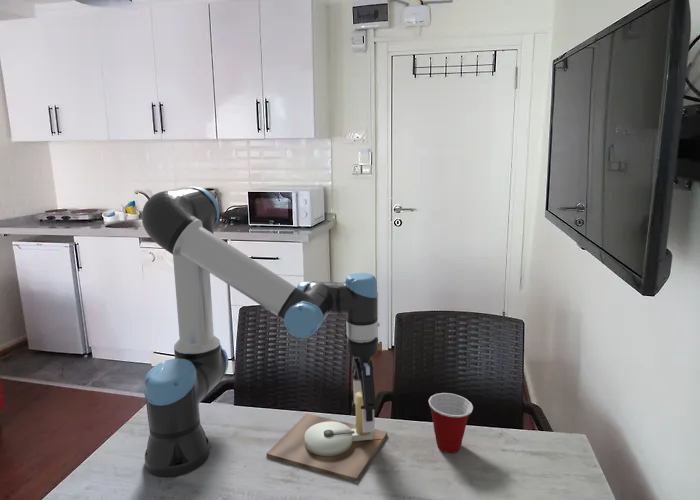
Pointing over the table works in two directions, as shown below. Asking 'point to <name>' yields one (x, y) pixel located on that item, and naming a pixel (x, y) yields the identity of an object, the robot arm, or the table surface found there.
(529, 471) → the table surface
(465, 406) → the plastic cup
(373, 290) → the robot arm
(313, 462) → the base plate
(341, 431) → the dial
